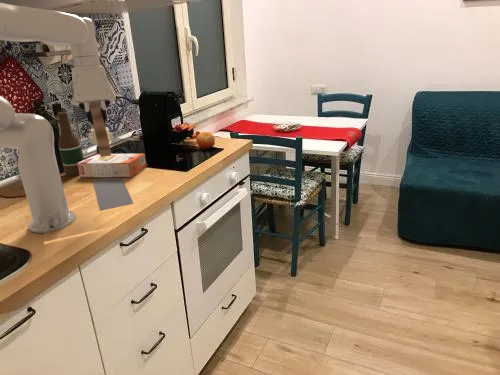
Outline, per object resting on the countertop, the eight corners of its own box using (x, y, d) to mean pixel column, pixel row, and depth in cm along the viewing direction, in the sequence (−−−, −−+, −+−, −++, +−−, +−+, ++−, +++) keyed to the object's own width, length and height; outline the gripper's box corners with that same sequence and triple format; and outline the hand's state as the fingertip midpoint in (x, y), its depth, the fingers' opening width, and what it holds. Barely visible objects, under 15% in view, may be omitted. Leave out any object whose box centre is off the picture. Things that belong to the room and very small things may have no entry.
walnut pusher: (117, 154, 127) (116, 143, 123) (93, 158, 124) (91, 147, 120) (103, 98, 139) (101, 87, 135) (81, 101, 137) (79, 89, 133)
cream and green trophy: (120, 155, 180) (115, 126, 175) (113, 160, 174) (107, 130, 169) (97, 156, 182) (91, 127, 177) (89, 161, 175) (82, 131, 171)
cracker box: (129, 161, 148) (76, 162, 152) (131, 177, 150) (79, 178, 154) (145, 152, 161) (95, 153, 165) (147, 167, 163) (98, 167, 167)
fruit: (205, 140, 189) (209, 127, 184) (215, 152, 186) (219, 138, 180) (190, 144, 184) (194, 131, 179) (200, 156, 181) (203, 142, 175)
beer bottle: (64, 173, 162) (50, 112, 154) (85, 169, 166) (72, 109, 157) (66, 178, 156) (51, 115, 147) (87, 174, 159) (74, 112, 150)
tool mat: (133, 204, 128) (133, 203, 128) (100, 212, 124) (99, 210, 124) (121, 176, 154) (120, 175, 154) (93, 182, 150) (92, 180, 150)
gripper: (57, 65, 118) (70, 128, 124) (116, 60, 124) (126, 121, 130) (57, 64, 124) (70, 124, 131) (113, 59, 130) (123, 117, 137)
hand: (98, 122), depth 130 cm, fingers closed on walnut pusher, 3 cm apart
